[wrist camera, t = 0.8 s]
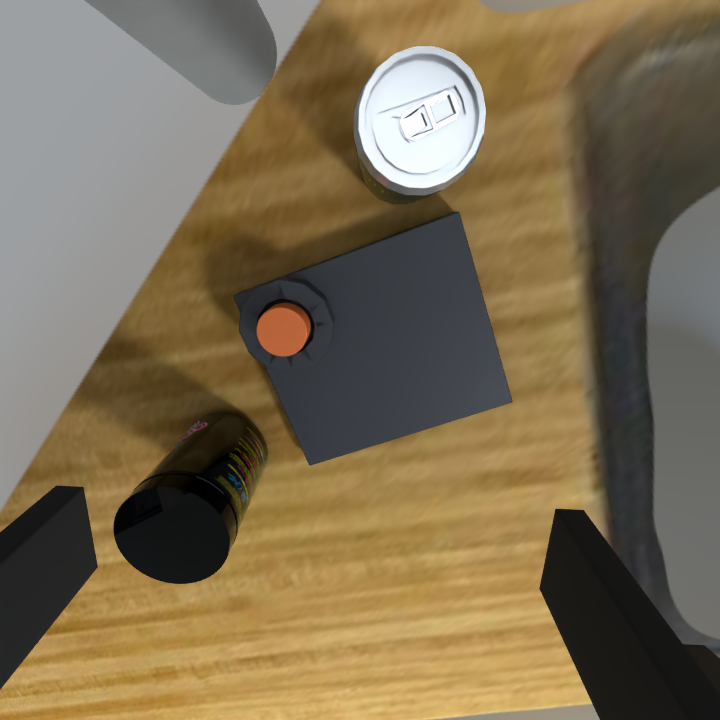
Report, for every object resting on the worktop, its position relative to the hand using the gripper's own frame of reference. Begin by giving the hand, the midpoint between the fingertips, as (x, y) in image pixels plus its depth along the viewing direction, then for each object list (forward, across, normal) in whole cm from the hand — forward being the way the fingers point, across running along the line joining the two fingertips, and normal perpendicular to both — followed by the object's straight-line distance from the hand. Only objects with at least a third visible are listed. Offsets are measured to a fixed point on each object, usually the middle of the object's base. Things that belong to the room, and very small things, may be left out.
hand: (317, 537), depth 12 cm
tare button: (+18, -4, +2) cm, 19 cm away
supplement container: (+21, -10, -9) cm, 25 cm away
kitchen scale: (+21, +2, 0) cm, 21 cm away
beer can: (+21, +3, +12) cm, 24 cm away
